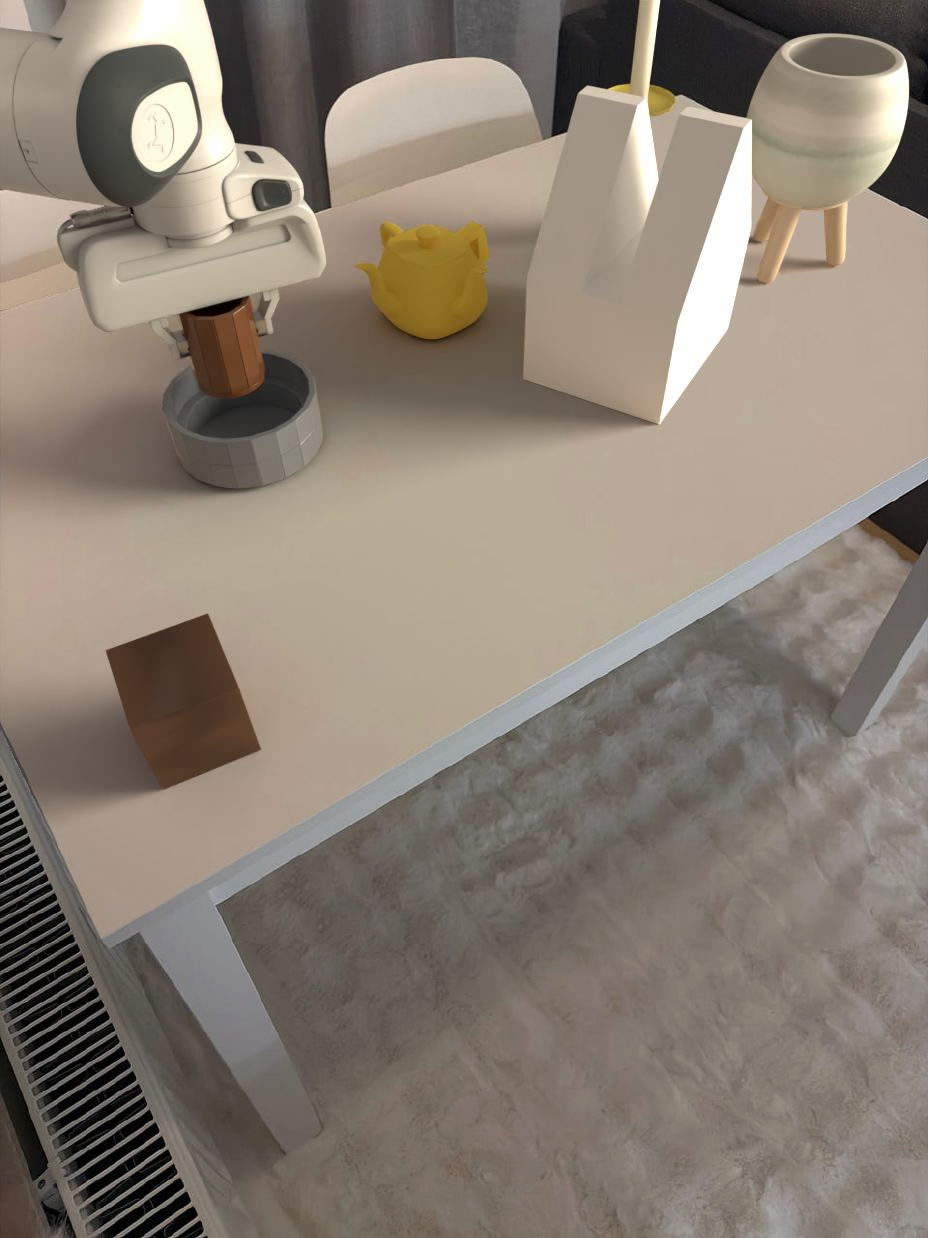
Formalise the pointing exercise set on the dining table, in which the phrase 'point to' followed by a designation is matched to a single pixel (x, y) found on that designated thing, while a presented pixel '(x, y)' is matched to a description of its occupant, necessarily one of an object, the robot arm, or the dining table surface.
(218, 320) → the cup
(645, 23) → the candle
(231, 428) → the grey round tub
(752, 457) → the dining table surface
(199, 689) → the stand
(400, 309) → the teapot
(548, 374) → the white v-notched block
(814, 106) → the planter
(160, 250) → the robot arm
